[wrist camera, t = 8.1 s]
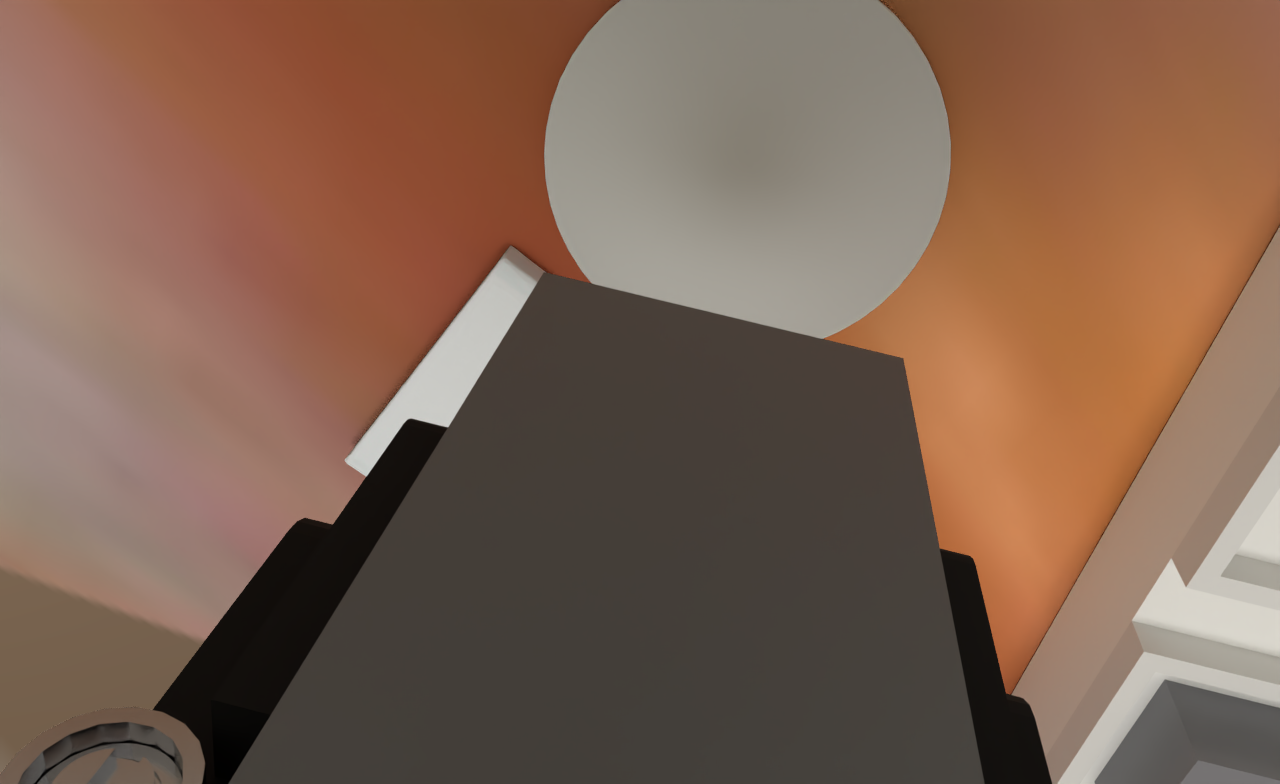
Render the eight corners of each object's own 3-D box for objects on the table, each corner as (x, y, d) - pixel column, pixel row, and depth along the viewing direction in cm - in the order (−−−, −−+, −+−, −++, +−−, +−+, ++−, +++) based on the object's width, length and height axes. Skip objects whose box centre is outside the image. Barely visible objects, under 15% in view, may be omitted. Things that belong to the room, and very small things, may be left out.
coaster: (580, -91, 20) (576, -90, 19) (1013, 7, 20) (1017, 11, 19) (526, 298, 24) (521, 305, 24) (874, 382, 24) (875, 390, 24)
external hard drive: (517, 235, 24) (876, 516, 27) (362, 435, 28) (689, 664, 31) (499, 259, 23) (880, 553, 26) (339, 466, 27) (683, 703, 29)
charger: (543, 272, 12) (164, 887, 5) (903, 358, 12) (1049, 1122, 5) (501, 550, 14) (200, 1244, 7) (801, 625, 14) (798, 1411, 7)
